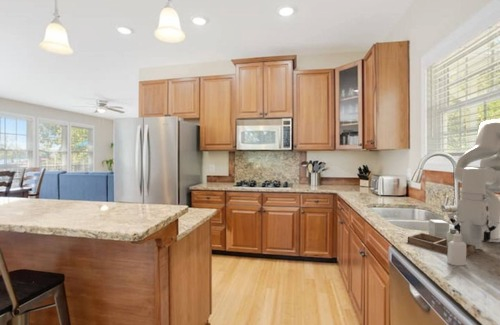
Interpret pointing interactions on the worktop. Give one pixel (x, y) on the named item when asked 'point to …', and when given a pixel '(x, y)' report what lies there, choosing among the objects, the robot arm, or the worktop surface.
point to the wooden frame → (435, 243)
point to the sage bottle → (450, 235)
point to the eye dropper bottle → (456, 251)
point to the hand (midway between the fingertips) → (471, 237)
